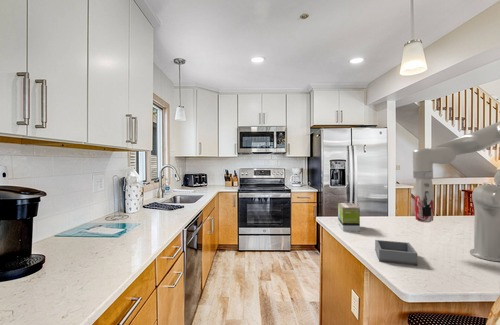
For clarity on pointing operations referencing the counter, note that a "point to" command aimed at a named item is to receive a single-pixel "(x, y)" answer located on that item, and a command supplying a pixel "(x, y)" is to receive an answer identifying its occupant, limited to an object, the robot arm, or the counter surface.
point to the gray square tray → (395, 252)
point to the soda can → (419, 211)
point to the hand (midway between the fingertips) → (424, 213)
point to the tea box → (349, 217)
